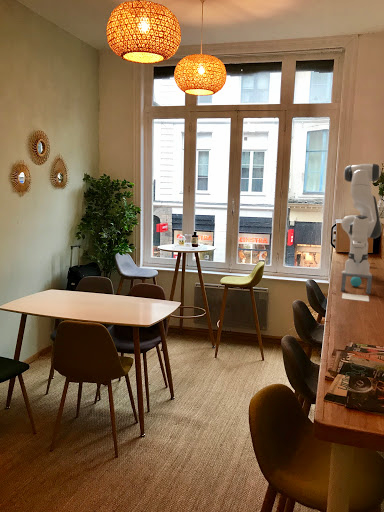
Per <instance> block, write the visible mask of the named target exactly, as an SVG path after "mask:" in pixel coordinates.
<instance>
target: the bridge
mask: <svg viewBox="0 0 384 512" xmlns="http://www.w3.org/2000/svg"><path fill="white" fill-rule="evenodd" d="M341 274H342V275H341V286H340V292H346V284H347V283H346V282H347V277H350V278H352V277H360V278H362V279H367V282H366V283H367V284H366V291H365V292H366V294H367V295H371V292H372V281H373V275H362V274H351V273H341Z"/></svg>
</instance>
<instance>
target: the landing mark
mask: <svg viewBox="0 0 384 512" xmlns="http://www.w3.org/2000/svg"><path fill="white" fill-rule="evenodd" d="M341 299H342V300H351V301H360V302H366V303H367V302H370V296H369V295H365V294H364V295H361V294H353V293H345V292H342V295H341Z"/></svg>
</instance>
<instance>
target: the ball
mask: <svg viewBox="0 0 384 512" xmlns="http://www.w3.org/2000/svg"><path fill="white" fill-rule="evenodd" d="M362 283H363V282H362V279H361V278H360V277H350V284H351V286H353V287H359V286H361V285H362Z"/></svg>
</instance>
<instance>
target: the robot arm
mask: <svg viewBox="0 0 384 512" xmlns="http://www.w3.org/2000/svg"><path fill="white" fill-rule="evenodd" d="M381 174H382V168H381V167H380V164H376V163H361V164H353V165H352V164H350V165H347V166H345V167H344V171H343V178H344V180H345V181H346V182H348V183H350V196H351V198H352V205H353V208H354V209H356V210H357V211H358V212H359V214H360V215H359V214H356V215H355V214H353V215H351V214H350V215H346V216H344V217H343V218H342V219H341V228H342V230H343V231H345V233H346V234H347V235H348V238H349V252H348V259H346V260H345V263H344V266H345V267H344V269H343V270H341V274H343V273H351V274H362V275H372V274H373V273H371V272H370V267H371V266H370V262H369V261H368V260H369V254H368V251H369V242H368V238H369V239H377V238H379V237H380V236H381V235H382V231H383V230H382V228H383V227H382V221H381V218H380V214H379V208H378V203H377V199H376V196H375V195H373V194H372V185H371V182H372V184H374V183H375V182H376V181H378V180H379V179H380V176H381ZM372 276H373V275H372Z"/></svg>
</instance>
